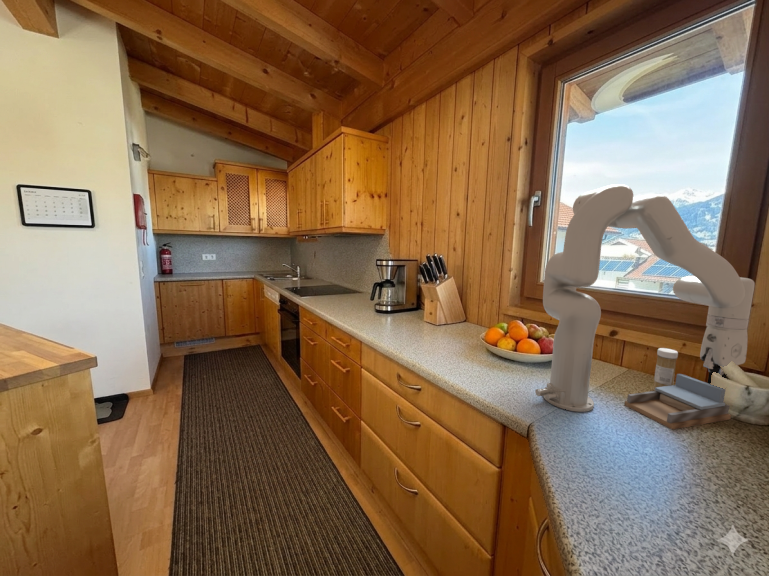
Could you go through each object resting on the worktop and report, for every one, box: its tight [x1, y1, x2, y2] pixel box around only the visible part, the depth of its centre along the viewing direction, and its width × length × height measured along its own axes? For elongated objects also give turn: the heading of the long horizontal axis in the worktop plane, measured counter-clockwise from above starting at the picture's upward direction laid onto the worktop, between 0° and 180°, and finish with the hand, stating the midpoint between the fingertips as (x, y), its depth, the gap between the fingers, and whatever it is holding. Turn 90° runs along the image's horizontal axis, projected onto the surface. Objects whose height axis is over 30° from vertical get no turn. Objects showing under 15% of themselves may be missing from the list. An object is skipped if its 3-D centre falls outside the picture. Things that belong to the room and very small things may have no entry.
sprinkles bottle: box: [652, 347, 679, 391], centre depth 94 cm, size 5×5×13 cm
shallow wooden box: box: [624, 390, 732, 430], centre depth 84 cm, size 20×12×3 cm, turn 104°
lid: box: [655, 373, 726, 410], centre depth 84 cm, size 8×11×4 cm
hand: (716, 386), depth 86 cm, fingers closed
